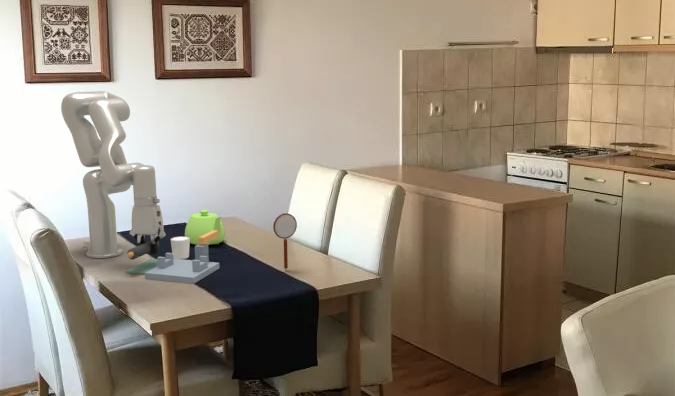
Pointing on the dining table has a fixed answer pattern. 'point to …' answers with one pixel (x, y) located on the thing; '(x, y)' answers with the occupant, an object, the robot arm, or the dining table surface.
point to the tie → (208, 237)
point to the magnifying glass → (285, 231)
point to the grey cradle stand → (183, 267)
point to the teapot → (204, 227)
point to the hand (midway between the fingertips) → (148, 253)
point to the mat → (143, 267)
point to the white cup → (180, 247)
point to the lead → (140, 250)
